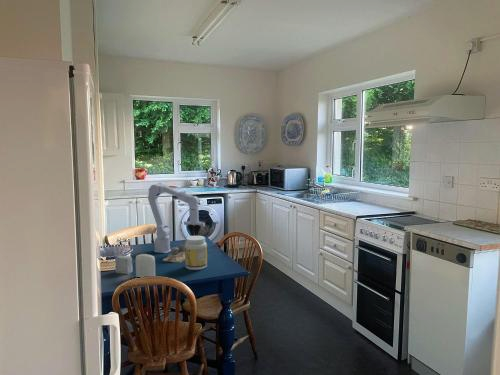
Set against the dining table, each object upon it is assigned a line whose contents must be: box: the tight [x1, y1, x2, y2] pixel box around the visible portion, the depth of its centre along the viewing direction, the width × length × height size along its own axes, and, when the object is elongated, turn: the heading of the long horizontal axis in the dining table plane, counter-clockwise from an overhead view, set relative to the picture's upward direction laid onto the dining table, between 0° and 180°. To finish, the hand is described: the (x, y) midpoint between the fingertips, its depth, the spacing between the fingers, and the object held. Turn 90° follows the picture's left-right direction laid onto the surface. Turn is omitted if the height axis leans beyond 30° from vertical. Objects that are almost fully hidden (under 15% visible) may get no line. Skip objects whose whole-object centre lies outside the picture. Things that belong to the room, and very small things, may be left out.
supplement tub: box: [184, 235, 208, 271], centre depth 212 cm, size 12×12×17 cm
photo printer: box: [135, 253, 156, 278], centre depth 197 cm, size 10×4×12 cm, turn 77°
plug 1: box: [170, 246, 179, 255], centre depth 226 cm, size 4×4×4 cm
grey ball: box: [177, 243, 185, 252], centre depth 233 cm, size 4×4×4 cm
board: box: [162, 248, 185, 264], centre depth 233 cm, size 12×22×4 cm, turn 157°
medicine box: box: [114, 255, 134, 275], centre depth 205 cm, size 8×4×9 cm, turn 71°
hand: (194, 236), depth 241 cm, fingers closed
